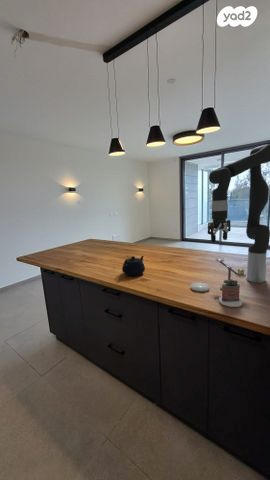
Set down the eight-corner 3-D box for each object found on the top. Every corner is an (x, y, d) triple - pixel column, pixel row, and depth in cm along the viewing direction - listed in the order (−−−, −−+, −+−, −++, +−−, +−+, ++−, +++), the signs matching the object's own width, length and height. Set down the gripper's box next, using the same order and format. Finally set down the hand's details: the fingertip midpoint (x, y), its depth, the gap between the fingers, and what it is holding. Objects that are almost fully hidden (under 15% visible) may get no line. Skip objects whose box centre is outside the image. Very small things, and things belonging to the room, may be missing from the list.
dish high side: (200, 283, 124) (200, 281, 123) (213, 289, 115) (213, 287, 115) (186, 287, 119) (186, 284, 119) (199, 293, 111) (199, 291, 110)
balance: (219, 284, 122) (219, 258, 119) (247, 295, 106) (248, 265, 104) (212, 286, 120) (213, 259, 117) (240, 297, 104) (241, 267, 101)
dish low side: (228, 296, 106) (228, 293, 106) (247, 304, 97) (247, 301, 97) (214, 301, 102) (214, 298, 101) (232, 310, 93) (232, 307, 93)
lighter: (237, 298, 101) (238, 278, 99) (240, 301, 97) (241, 280, 96) (220, 298, 101) (221, 278, 99) (223, 302, 98) (223, 281, 96)
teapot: (133, 281, 132) (132, 262, 130) (114, 277, 141) (113, 259, 139) (153, 269, 153) (152, 253, 150) (135, 266, 161) (134, 251, 159)
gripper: (223, 208, 114) (222, 238, 117) (203, 210, 107) (203, 242, 110) (235, 208, 107) (234, 240, 110) (215, 210, 101) (215, 244, 104)
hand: (219, 240), depth 110 cm, fingers open, 8 cm apart
